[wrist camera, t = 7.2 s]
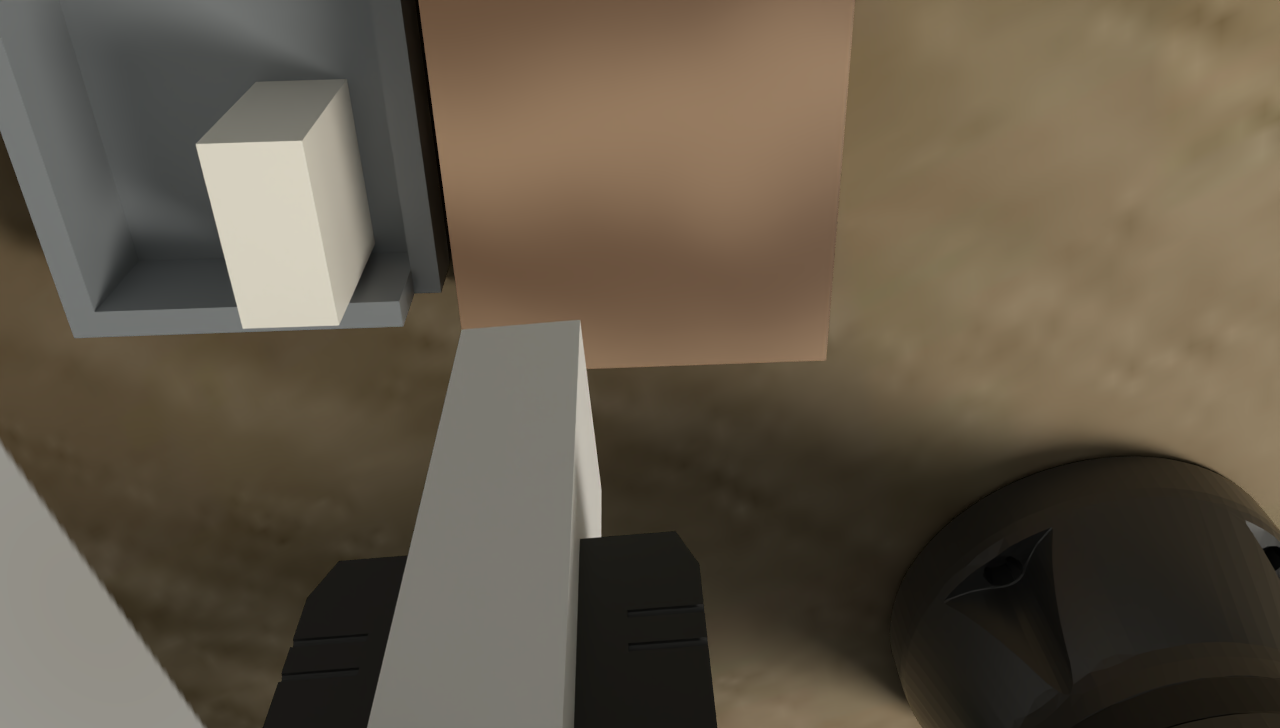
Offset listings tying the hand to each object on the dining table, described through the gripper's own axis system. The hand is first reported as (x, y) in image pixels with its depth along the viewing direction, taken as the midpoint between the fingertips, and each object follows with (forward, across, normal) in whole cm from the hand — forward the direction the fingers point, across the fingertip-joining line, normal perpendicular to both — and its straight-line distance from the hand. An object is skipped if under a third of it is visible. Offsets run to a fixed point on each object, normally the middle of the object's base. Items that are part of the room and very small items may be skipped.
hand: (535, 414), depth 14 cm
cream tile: (+15, +6, +3) cm, 17 cm away
